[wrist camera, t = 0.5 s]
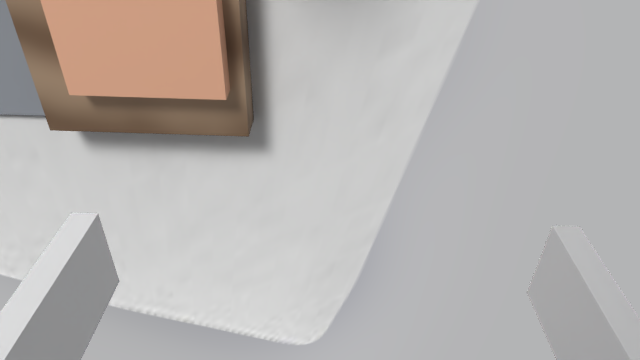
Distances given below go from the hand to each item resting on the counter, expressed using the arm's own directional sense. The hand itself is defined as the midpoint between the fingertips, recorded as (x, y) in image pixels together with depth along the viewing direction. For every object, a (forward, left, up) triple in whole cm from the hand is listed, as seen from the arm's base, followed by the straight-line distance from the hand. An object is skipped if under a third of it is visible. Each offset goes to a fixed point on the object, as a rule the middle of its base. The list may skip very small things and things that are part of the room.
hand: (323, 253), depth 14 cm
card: (0, -11, -19) cm, 22 cm away
